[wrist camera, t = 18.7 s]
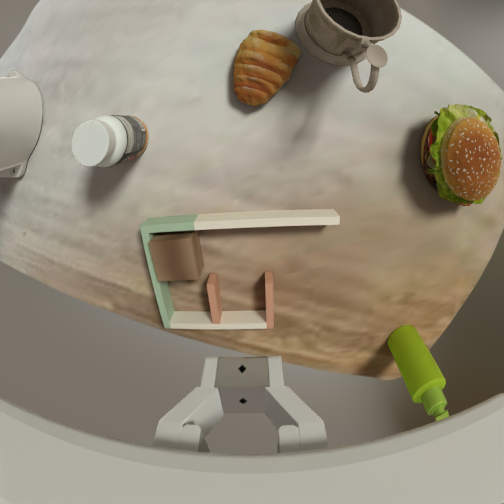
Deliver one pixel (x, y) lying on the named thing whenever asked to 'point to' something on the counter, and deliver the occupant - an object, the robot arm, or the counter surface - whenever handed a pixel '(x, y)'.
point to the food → (461, 154)
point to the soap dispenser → (419, 370)
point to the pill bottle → (109, 140)
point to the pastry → (263, 66)
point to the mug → (349, 34)
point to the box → (216, 315)
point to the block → (177, 255)
